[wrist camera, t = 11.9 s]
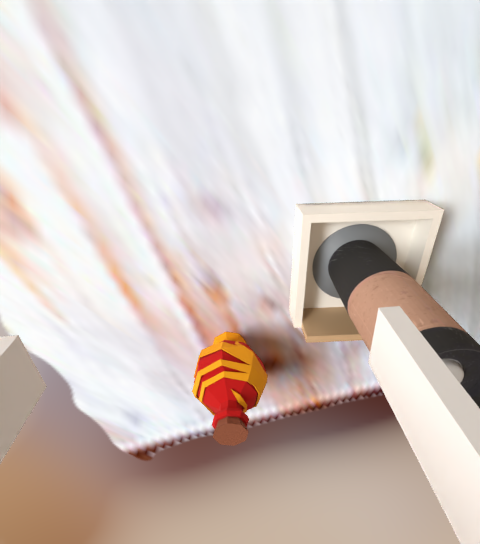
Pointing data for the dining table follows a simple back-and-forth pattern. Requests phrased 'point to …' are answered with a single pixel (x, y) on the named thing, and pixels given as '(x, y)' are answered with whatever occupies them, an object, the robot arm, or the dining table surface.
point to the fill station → (344, 228)
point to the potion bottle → (229, 385)
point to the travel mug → (410, 297)
